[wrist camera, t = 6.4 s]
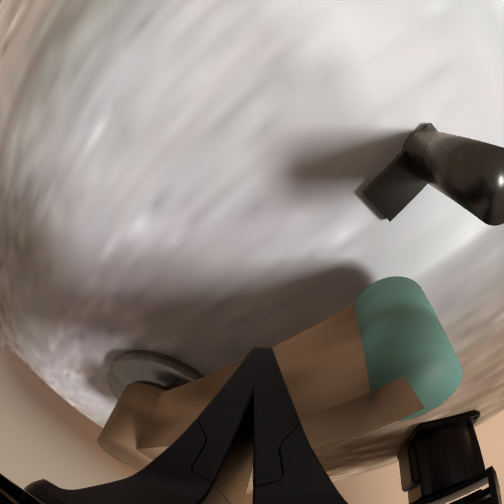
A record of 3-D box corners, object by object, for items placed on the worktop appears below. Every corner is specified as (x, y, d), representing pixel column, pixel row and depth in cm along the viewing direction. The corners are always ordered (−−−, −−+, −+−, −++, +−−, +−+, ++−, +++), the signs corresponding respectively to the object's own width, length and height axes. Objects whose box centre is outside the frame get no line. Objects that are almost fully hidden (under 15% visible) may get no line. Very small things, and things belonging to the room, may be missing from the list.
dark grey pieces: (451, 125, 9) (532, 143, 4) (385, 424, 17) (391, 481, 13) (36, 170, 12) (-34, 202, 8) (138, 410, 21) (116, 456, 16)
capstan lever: (164, 428, 18) (146, 476, 14) (113, 390, 17) (86, 439, 13) (436, 323, 11) (470, 400, 7) (395, 239, 10) (444, 318, 6)
